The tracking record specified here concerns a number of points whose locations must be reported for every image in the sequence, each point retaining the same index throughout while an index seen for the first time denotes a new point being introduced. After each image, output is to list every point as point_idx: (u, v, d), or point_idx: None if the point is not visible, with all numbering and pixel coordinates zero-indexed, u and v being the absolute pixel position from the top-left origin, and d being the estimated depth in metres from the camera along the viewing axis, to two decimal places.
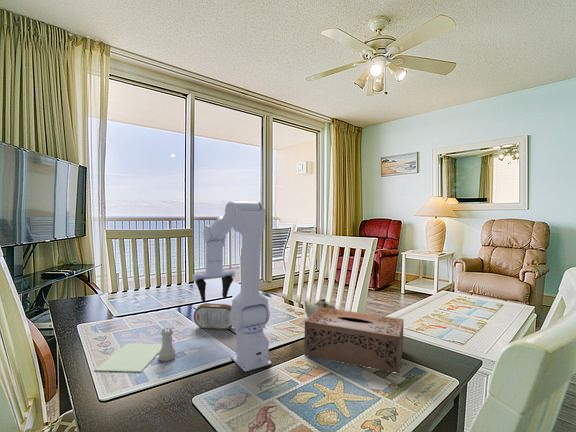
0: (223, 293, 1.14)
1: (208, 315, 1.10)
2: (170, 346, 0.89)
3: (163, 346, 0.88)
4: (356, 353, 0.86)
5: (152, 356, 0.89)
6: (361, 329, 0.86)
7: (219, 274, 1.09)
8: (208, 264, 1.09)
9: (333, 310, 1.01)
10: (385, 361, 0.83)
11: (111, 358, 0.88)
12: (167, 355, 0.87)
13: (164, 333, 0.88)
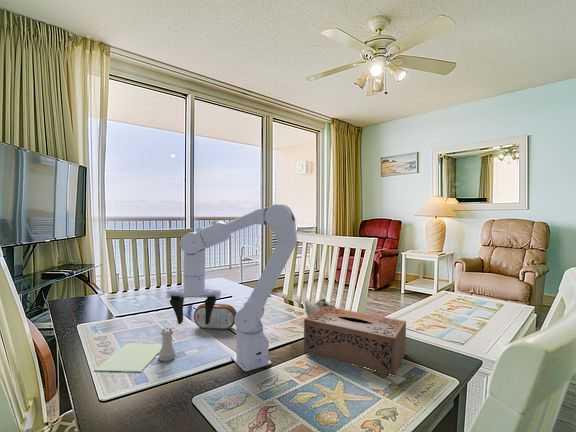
0: None
1: None
2: (170, 346, 0.89)
3: (163, 346, 0.88)
4: (353, 352, 0.86)
5: (152, 356, 0.89)
6: (358, 329, 0.86)
7: (194, 293, 0.87)
8: None
9: (336, 310, 1.02)
10: (381, 362, 0.83)
11: (111, 358, 0.88)
12: (167, 355, 0.87)
13: (164, 333, 0.88)
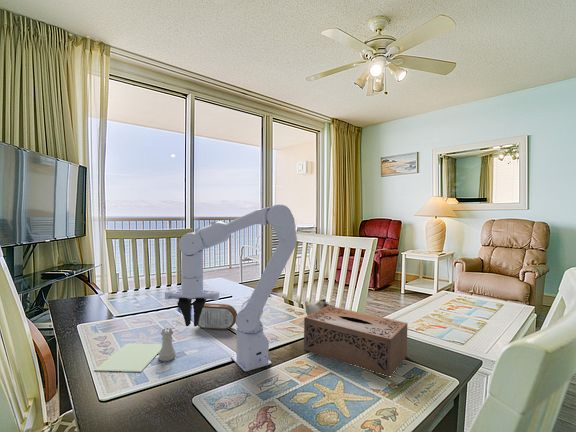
0: None
1: (208, 315, 1.10)
2: (170, 346, 0.89)
3: (163, 346, 0.88)
4: (350, 352, 0.87)
5: (152, 356, 0.89)
6: (355, 329, 0.86)
7: (192, 295, 0.86)
8: None
9: (339, 310, 1.02)
10: (377, 363, 0.82)
11: (111, 358, 0.88)
12: (167, 355, 0.87)
13: (164, 333, 0.88)
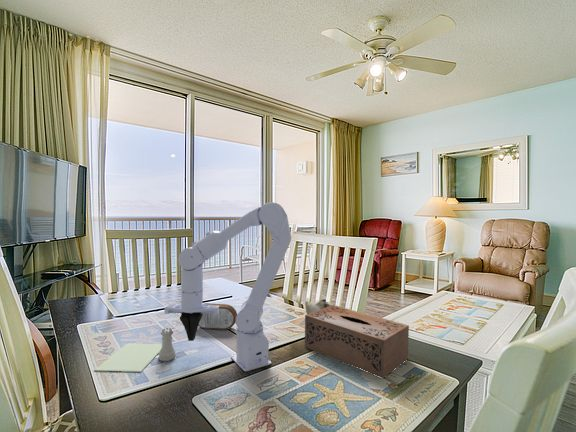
0: None
1: (208, 315, 1.10)
2: (170, 346, 0.89)
3: (163, 346, 0.88)
4: (346, 351, 0.87)
5: (152, 356, 0.89)
6: (352, 328, 0.87)
7: (191, 310, 0.86)
8: (181, 295, 0.87)
9: (342, 309, 1.03)
10: (372, 364, 0.82)
11: (111, 358, 0.88)
12: (167, 355, 0.87)
13: (164, 333, 0.88)
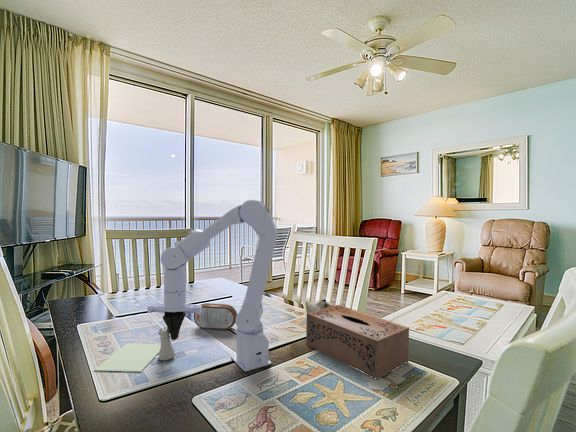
0: None
1: (208, 315, 1.10)
2: (169, 345, 0.89)
3: (162, 345, 0.88)
4: (343, 350, 0.87)
5: (152, 356, 0.89)
6: (348, 328, 0.87)
7: (174, 309, 0.86)
8: (164, 294, 0.87)
9: (346, 309, 1.03)
10: (366, 364, 0.82)
11: (111, 358, 0.88)
12: (166, 354, 0.87)
13: (161, 332, 0.88)
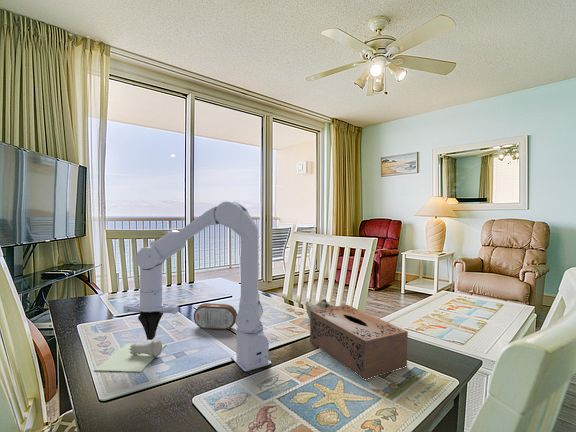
0: None
1: (208, 315, 1.10)
2: (145, 345, 0.89)
3: (143, 351, 0.89)
4: (338, 349, 0.88)
5: None
6: (343, 327, 0.88)
7: (149, 309, 0.86)
8: None
9: (352, 309, 1.03)
10: (356, 364, 0.82)
11: (111, 358, 0.88)
12: (149, 347, 0.88)
13: (131, 351, 0.89)
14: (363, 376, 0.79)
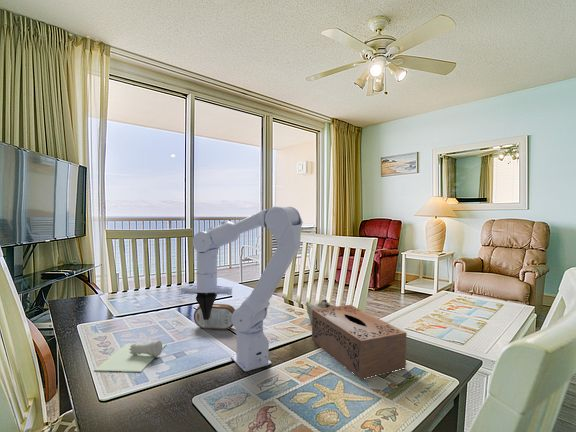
0: None
1: None
2: (145, 345, 0.89)
3: (143, 351, 0.89)
4: (337, 348, 0.89)
5: None
6: (342, 326, 0.88)
7: (207, 290, 0.91)
8: (197, 276, 0.92)
9: (354, 309, 1.03)
10: (353, 363, 0.82)
11: (111, 358, 0.88)
12: (149, 347, 0.88)
13: (131, 351, 0.89)
14: (359, 376, 0.80)
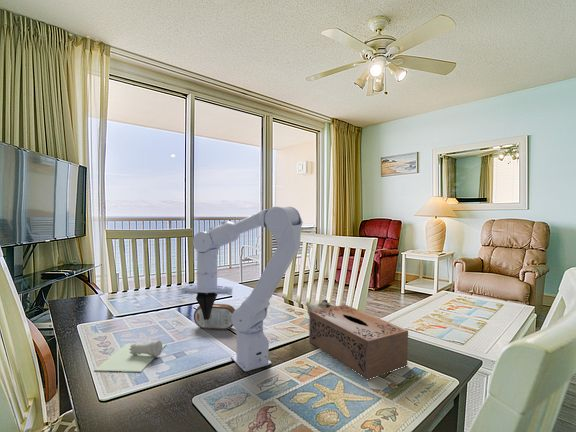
0: None
1: None
2: (145, 345, 0.89)
3: (143, 351, 0.89)
4: (339, 349, 0.88)
5: None
6: (344, 327, 0.88)
7: (207, 290, 0.91)
8: (197, 276, 0.92)
9: (351, 309, 1.03)
10: (358, 364, 0.82)
11: (111, 358, 0.88)
12: (149, 347, 0.88)
13: (131, 351, 0.89)
14: (365, 376, 0.79)
